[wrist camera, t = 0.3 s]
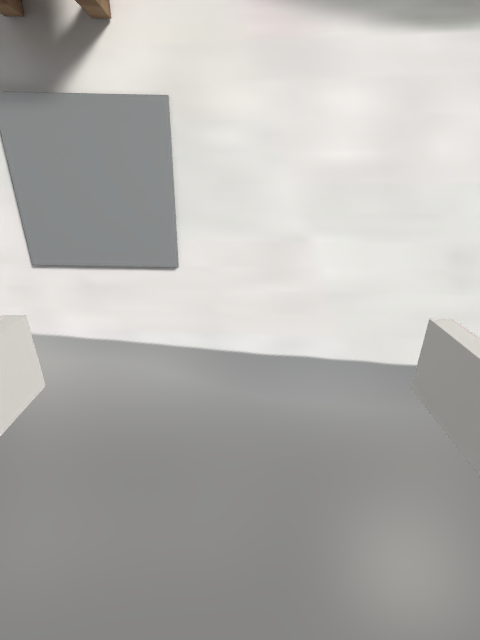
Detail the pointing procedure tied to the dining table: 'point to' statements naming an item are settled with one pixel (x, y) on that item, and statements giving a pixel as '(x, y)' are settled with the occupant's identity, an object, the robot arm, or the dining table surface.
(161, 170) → the mat
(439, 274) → the dining table surface
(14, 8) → the wooden stool
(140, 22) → the dining table surface
